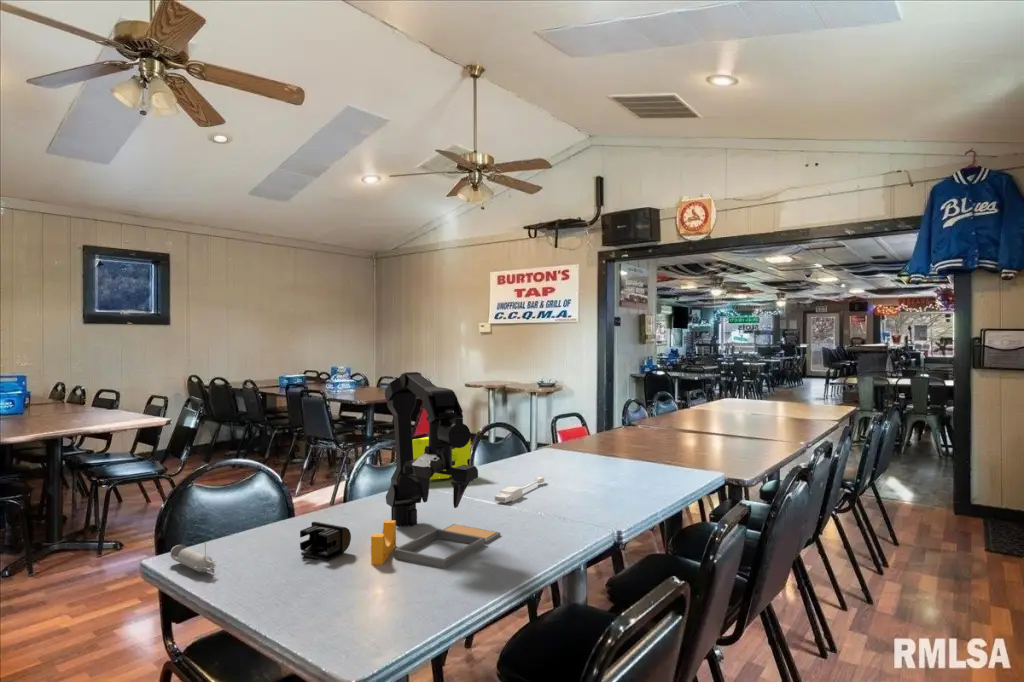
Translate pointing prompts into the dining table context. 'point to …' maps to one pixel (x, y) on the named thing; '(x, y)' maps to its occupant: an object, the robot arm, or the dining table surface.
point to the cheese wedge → (457, 454)
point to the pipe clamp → (383, 543)
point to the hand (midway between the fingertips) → (440, 504)
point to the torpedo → (193, 558)
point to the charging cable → (514, 492)
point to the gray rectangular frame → (407, 555)
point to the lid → (474, 532)
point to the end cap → (325, 541)
